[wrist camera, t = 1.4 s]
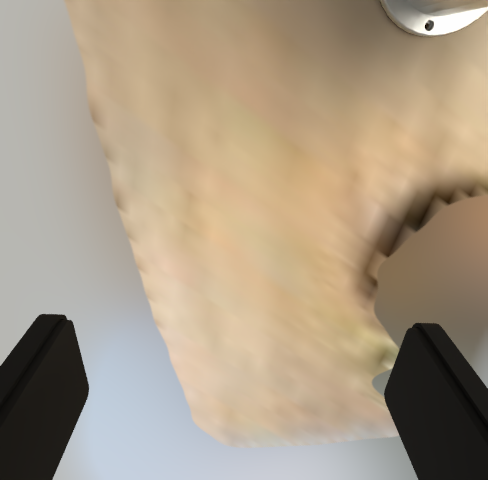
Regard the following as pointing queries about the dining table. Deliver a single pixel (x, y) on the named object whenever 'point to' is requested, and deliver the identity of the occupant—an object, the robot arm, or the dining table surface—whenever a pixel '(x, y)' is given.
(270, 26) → the dining table surface
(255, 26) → the dining table surface
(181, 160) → the dining table surface
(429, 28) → the robot arm
